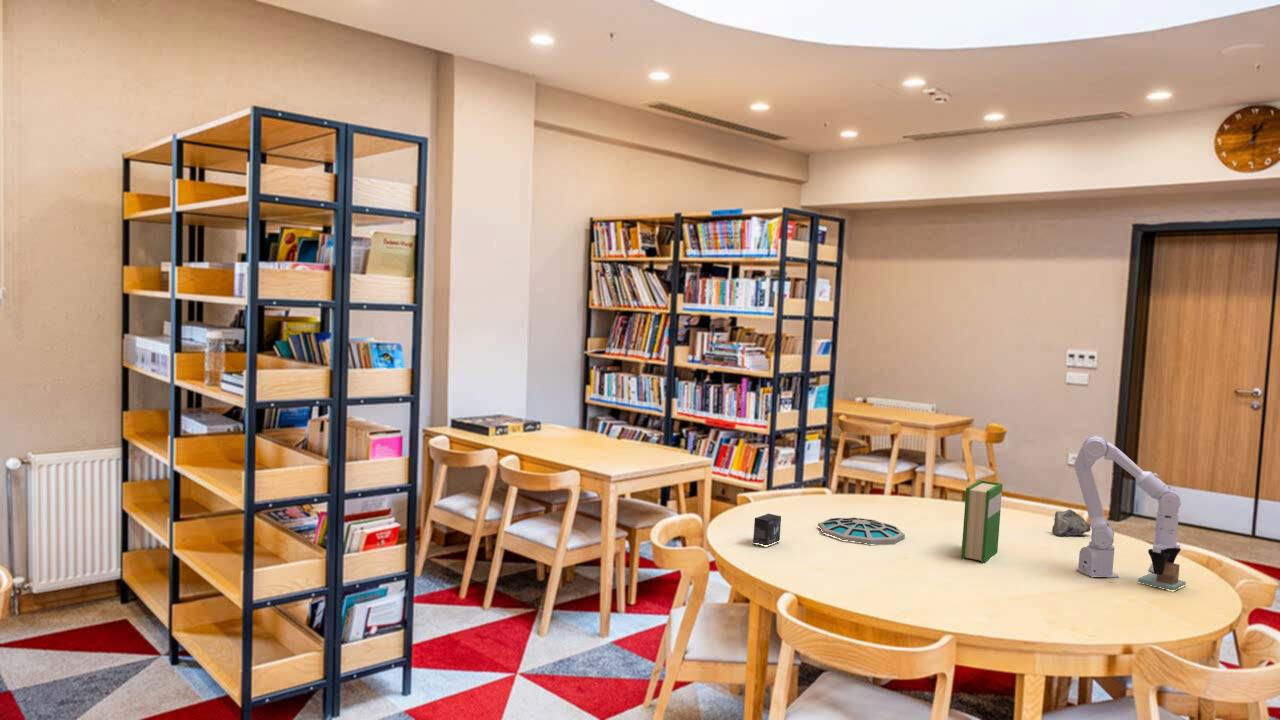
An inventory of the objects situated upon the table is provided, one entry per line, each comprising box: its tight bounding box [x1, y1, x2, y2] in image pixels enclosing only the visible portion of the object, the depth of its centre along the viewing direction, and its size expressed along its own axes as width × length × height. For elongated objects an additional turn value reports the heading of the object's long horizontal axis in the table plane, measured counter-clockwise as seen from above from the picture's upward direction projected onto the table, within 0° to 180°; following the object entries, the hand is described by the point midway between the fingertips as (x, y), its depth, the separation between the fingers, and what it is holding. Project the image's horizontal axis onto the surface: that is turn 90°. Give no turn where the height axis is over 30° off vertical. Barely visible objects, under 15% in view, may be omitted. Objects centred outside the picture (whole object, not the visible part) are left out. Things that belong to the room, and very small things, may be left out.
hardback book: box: [960, 480, 1003, 564], centre depth 288 cm, size 18×7×24 cm, turn 144°
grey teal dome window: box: [817, 516, 906, 545], centre depth 310 cm, size 31×29×5 cm
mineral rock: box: [1051, 508, 1092, 537], centre depth 321 cm, size 13×11×10 cm
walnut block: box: [1156, 562, 1181, 585], centre depth 263 cm, size 4×4×6 cm
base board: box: [1137, 572, 1187, 590], centre depth 265 cm, size 10×10×2 cm
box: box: [752, 513, 782, 545], centre depth 291 cm, size 9×6×10 cm, turn 143°
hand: (1162, 571), depth 265 cm, fingers open, 7 cm apart
